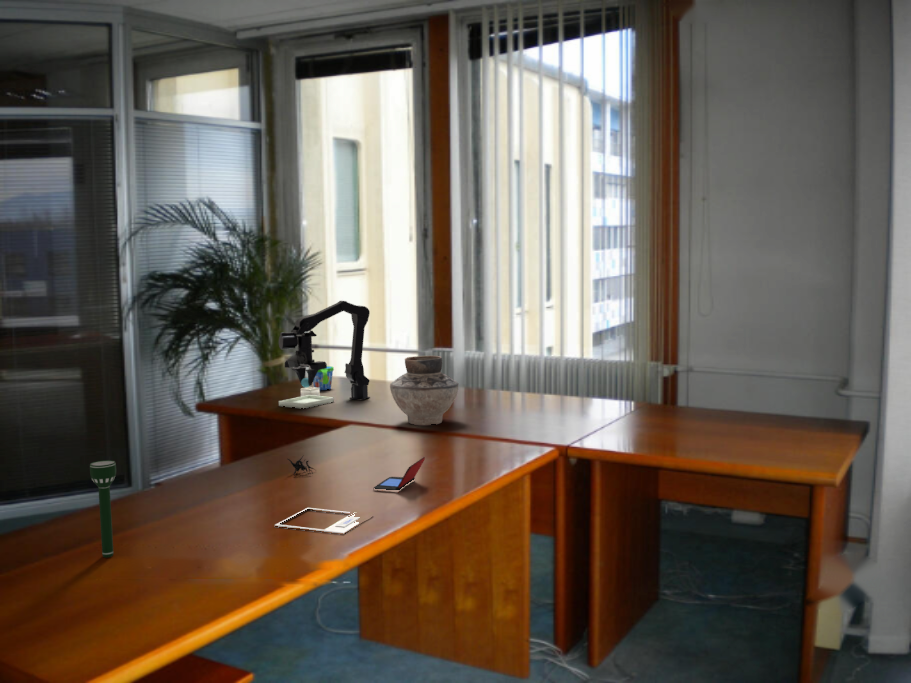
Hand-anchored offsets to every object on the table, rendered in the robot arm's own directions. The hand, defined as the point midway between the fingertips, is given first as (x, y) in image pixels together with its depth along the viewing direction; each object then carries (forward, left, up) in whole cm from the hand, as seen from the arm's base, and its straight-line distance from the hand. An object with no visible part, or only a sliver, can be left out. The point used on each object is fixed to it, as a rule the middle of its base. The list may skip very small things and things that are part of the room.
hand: (306, 385), depth 375 cm
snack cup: (+21, -33, -8) cm, 40 cm away
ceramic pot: (-66, +8, -8) cm, 67 cm away
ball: (0, 0, -1) cm, 1 cm away
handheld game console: (-113, +85, -8) cm, 142 cm away
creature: (-81, +88, -8) cm, 120 cm away
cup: (+10, -13, -8) cm, 18 cm away
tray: (0, 0, -8) cm, 8 cm away
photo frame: (-117, +119, -8) cm, 167 cm away
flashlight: (-94, +161, -8) cm, 187 cm away
